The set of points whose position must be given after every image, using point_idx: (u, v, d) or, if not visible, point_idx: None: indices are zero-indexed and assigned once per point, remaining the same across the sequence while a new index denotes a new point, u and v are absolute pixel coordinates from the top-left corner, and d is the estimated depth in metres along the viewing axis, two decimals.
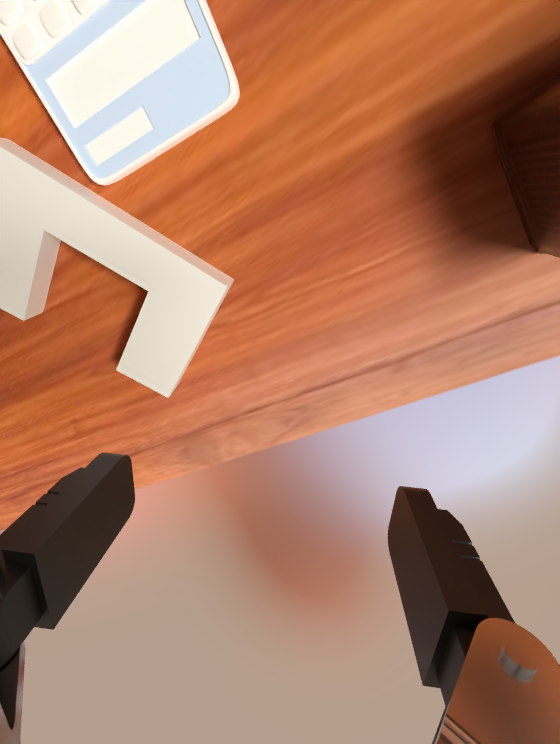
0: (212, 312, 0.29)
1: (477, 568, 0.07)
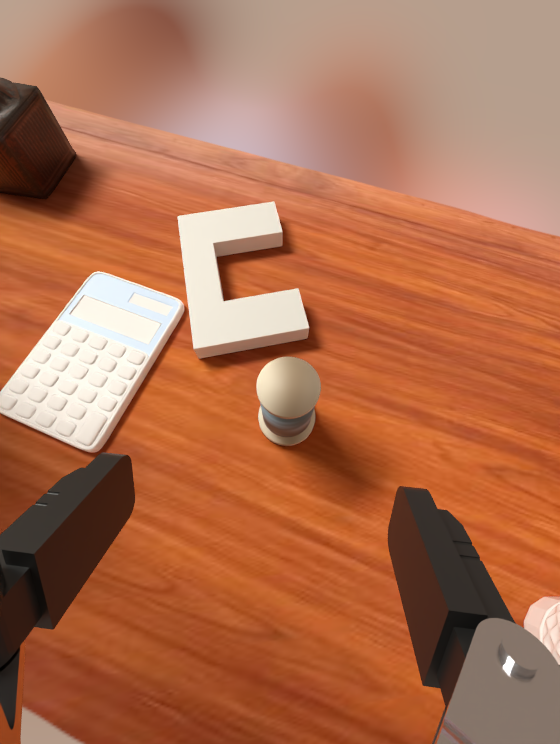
0: (197, 213, 0.45)
1: (477, 568, 0.07)
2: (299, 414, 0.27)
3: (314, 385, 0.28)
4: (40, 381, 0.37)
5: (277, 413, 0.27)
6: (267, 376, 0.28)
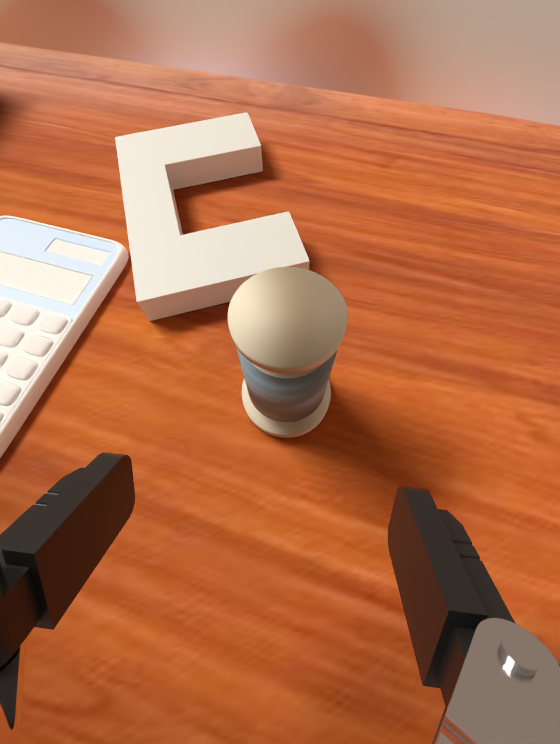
0: (143, 132, 0.33)
1: (477, 568, 0.07)
2: (313, 361, 0.14)
3: (335, 309, 0.15)
4: None
5: (270, 362, 0.14)
6: (247, 301, 0.15)
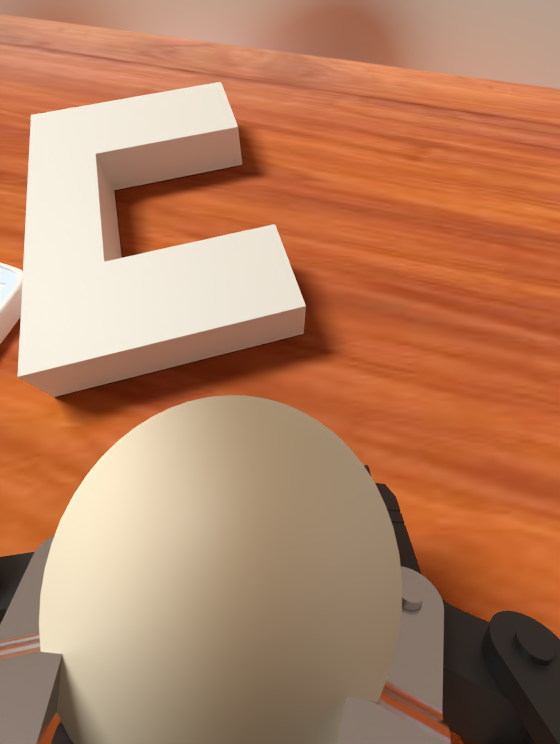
0: (71, 109, 0.23)
1: (399, 531, 0.08)
2: None
3: (363, 545, 0.05)
4: None
5: None
6: (110, 516, 0.05)
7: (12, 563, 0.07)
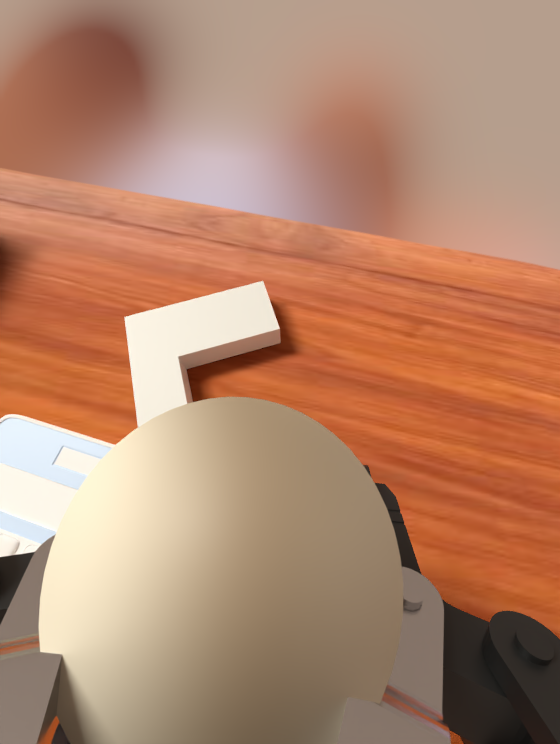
0: (153, 310, 0.31)
1: (399, 530, 0.08)
2: None
3: (364, 548, 0.05)
4: None
5: None
6: (110, 517, 0.05)
7: (12, 563, 0.07)
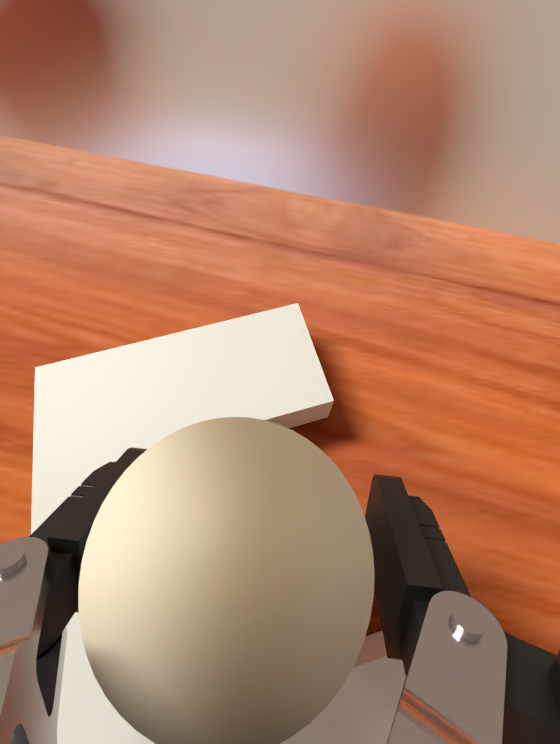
0: (92, 355, 0.16)
1: (441, 549, 0.08)
2: (286, 732, 0.05)
3: (343, 544, 0.06)
4: None
5: (171, 739, 0.05)
6: (134, 519, 0.06)
7: None
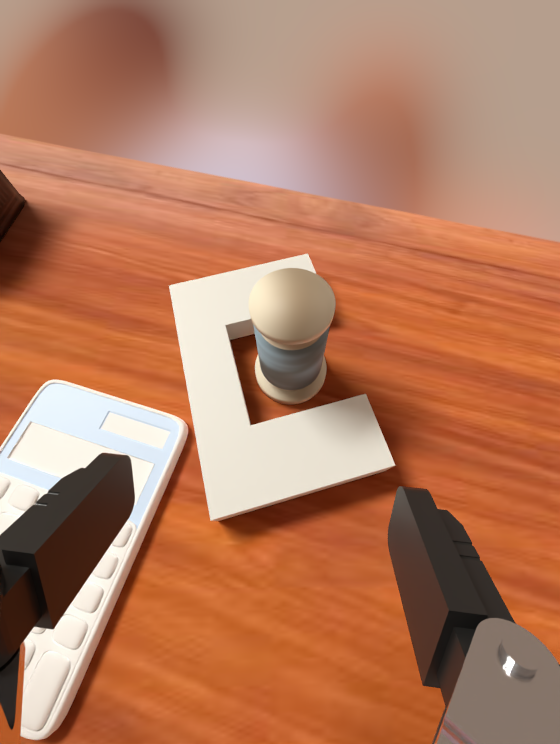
0: (198, 279, 0.31)
1: (477, 568, 0.07)
2: (310, 335, 0.19)
3: (326, 298, 0.20)
4: None
5: (280, 336, 0.19)
6: (262, 293, 0.21)
7: None
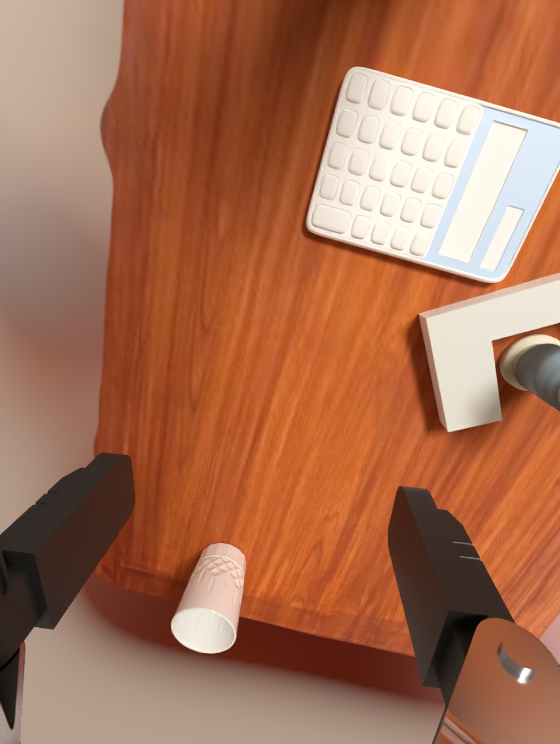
0: None
1: (477, 568, 0.07)
2: None
3: None
4: (385, 126, 0.29)
5: None
6: None
7: None
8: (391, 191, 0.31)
